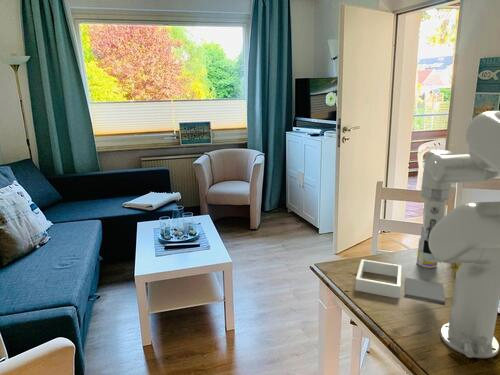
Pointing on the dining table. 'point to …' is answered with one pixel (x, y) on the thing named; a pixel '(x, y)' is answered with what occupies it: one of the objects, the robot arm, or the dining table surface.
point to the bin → (377, 286)
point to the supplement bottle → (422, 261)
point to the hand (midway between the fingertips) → (428, 246)
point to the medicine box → (427, 256)
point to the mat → (424, 290)
